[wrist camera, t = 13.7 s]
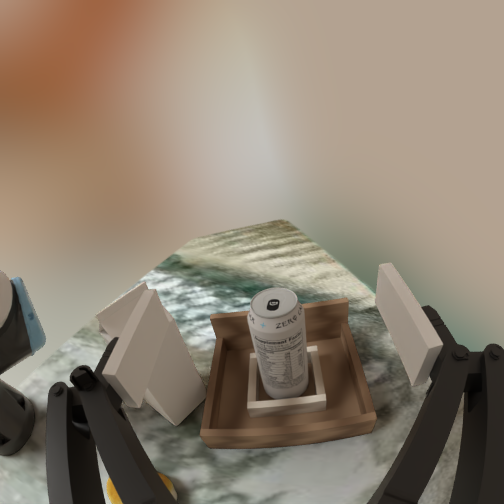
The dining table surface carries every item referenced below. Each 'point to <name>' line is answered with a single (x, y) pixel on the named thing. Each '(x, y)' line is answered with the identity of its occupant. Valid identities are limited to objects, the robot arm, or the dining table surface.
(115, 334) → the milk carton
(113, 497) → the bread roll
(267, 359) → the energy drink can
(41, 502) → the dining table surface
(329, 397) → the walled box
